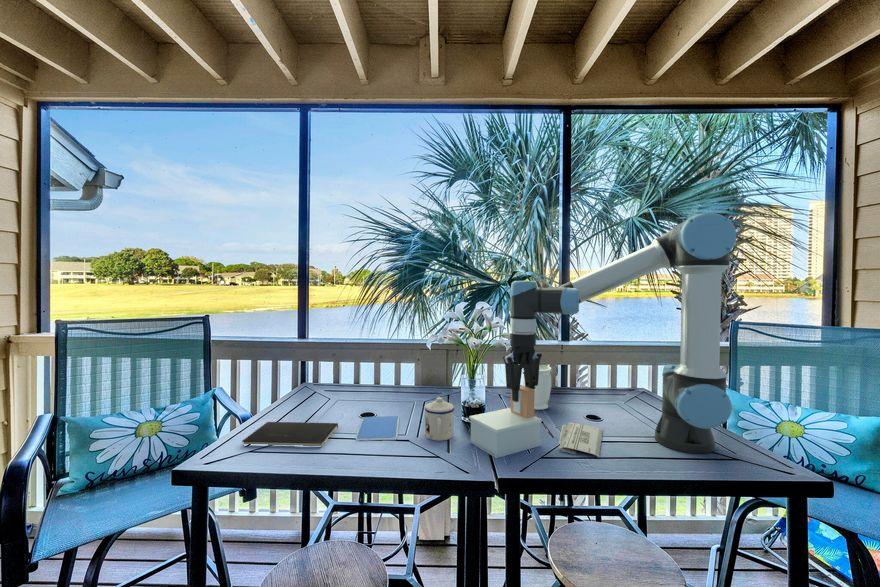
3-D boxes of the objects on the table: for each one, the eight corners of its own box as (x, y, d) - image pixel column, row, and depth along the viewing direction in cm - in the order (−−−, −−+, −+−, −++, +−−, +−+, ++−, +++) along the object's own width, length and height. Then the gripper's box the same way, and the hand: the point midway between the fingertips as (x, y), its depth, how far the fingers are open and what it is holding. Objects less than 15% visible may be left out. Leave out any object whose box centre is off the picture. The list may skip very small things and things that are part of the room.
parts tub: (540, 445, 116) (540, 421, 116) (496, 458, 108) (496, 432, 108) (512, 432, 127) (512, 410, 126) (470, 442, 119) (470, 419, 118)
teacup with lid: (425, 429, 128) (425, 393, 128) (453, 430, 128) (454, 393, 128) (423, 445, 116) (423, 405, 116) (454, 445, 116) (454, 405, 116)
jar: (554, 411, 147) (554, 370, 146) (525, 411, 147) (526, 370, 147) (547, 402, 158) (547, 364, 157) (520, 402, 158) (520, 364, 157)
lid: (541, 421, 116) (542, 391, 116) (496, 432, 108) (496, 400, 107) (512, 409, 127) (512, 381, 127) (469, 418, 118) (469, 389, 118)
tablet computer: (397, 442, 120) (397, 437, 120) (354, 443, 119) (354, 438, 119) (399, 419, 140) (399, 415, 140) (362, 420, 139) (362, 416, 139)
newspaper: (562, 426, 133) (563, 419, 133) (602, 436, 128) (603, 429, 128) (551, 453, 113) (552, 444, 112) (598, 466, 108) (599, 456, 107)
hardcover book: (321, 450, 114) (321, 442, 114) (242, 448, 115) (242, 440, 115) (338, 429, 130) (338, 422, 130) (268, 428, 131) (268, 421, 131)
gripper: (534, 329, 127) (533, 403, 128) (493, 332, 119) (493, 411, 120) (551, 332, 121) (550, 410, 121) (510, 336, 112) (509, 419, 113)
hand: (522, 410), depth 121 cm, fingers closed on lid, 3 cm apart
